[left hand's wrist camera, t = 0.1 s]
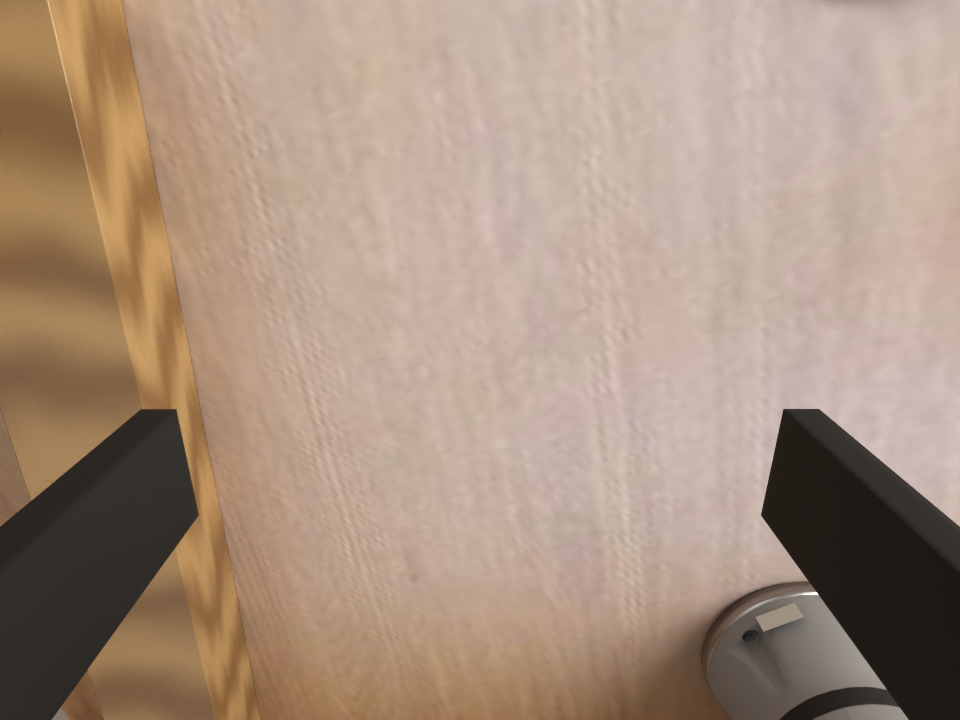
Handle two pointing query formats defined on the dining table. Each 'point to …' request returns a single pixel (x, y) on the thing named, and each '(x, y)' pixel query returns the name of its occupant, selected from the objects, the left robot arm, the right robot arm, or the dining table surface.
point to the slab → (106, 338)
